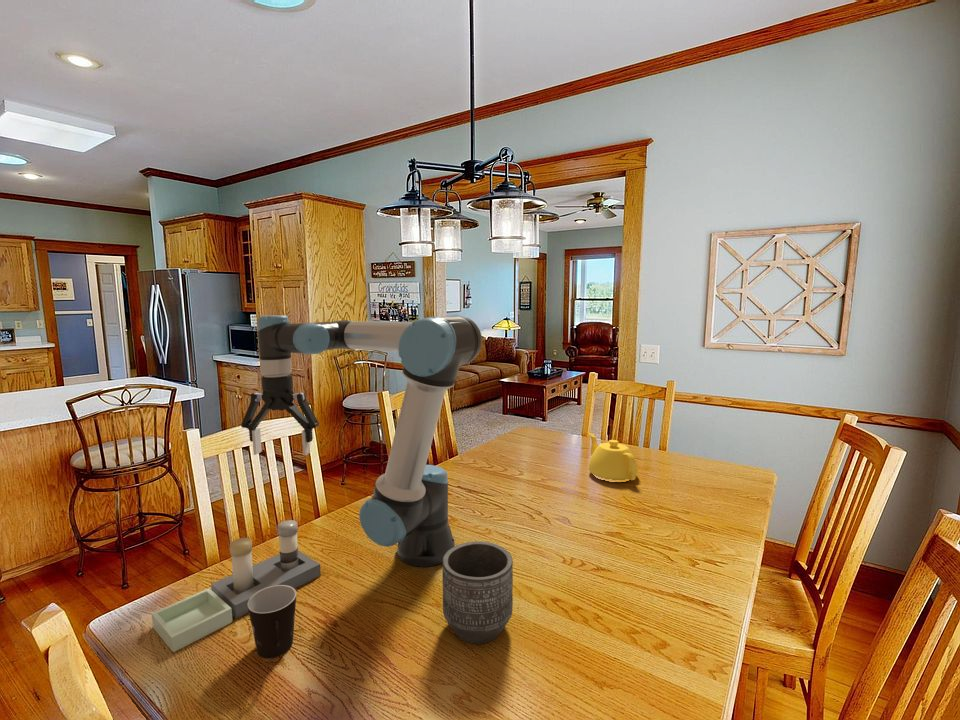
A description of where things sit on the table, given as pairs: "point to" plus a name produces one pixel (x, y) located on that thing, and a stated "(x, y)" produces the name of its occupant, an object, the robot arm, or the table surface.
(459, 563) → the planter
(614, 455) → the teapot
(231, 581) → the grey socket holder
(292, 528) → the cylinder
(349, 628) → the table surface
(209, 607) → the parts tray
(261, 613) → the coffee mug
